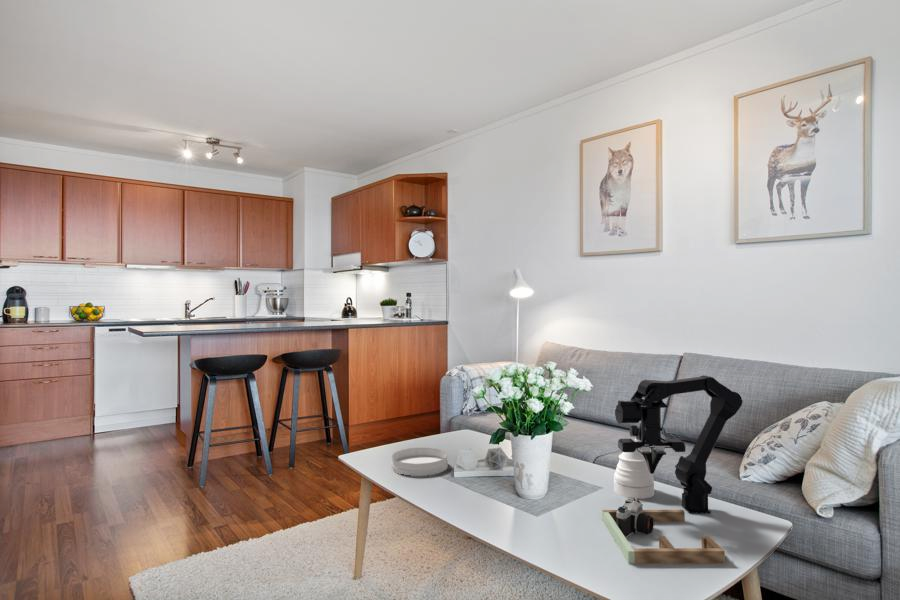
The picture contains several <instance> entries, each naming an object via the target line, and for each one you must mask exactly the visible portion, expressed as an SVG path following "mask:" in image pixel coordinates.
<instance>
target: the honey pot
mask: <svg viewBox="0 0 900 600" xmlns="http://www.w3.org/2000/svg"><path fill="white" fill-rule="evenodd" d="M634 442H641V440H636V438H634ZM618 459H619V461H618V463H617V464H616V468H615V472H614V473H613V490H614V493H616V494H617V495H619V496H621V497H625V498H627V499H628V498H629V499H634V498H637V499H640V500H641V499H642V500H643V499H648V498H651V497H653V496H655V482H654V481H655V478H654V476H653V475H654V474H651V473H650V472H649V469H648V466H647V464H646V461H645V458H644V456H643V455H642V454H641V453H640V452H638V451H637V448H636V450H635V451H634V452H622V453H620V454H619V455H618Z"/></svg>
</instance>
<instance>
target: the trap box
mask: <svg viewBox="0 0 900 600" xmlns="http://www.w3.org/2000/svg"><path fill="white" fill-rule="evenodd" d="M602 510H603V511H604V512H609V514H610V515H611V517H612V518H613V520H614V521H615V523H617V511H618V509H602ZM643 513H644V514H645V515H650V516H651V517H652V518H653V521H654V523H685V522H686V520H685V518H686V517H685V511H684V510H683V509H643ZM602 517H603V516H602V515H601V518H602ZM700 536H701V537H700V539H701V547H700V548H694V547H693V548H692V547H691V548H690V547H689V548H686V547H683V548H681V547H679V548H675V546H674V545H673V544H672V543H671V542H670V540H669V539H668V537H666V536H665V535H659V536H658V548H656V547H655V548H648V547H646V548H641V547H640V548H633V550H634V553H635V563H634V564H725V563H726V561H725V560H726V558H725V557H726V555H725V553H726V551H725V550H724V549H723V548H722V547H721V546H720V545H719V544H718V543H717V541H715V540H714V539H713V538H712V537H711V536H710V535H700Z"/></svg>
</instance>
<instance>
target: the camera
mask: <svg viewBox="0 0 900 600" xmlns="http://www.w3.org/2000/svg"><path fill="white" fill-rule="evenodd" d="M643 506H644V505H643V503H642V501H641V500H639V499H637V498H628V497H627V499H625V502H624V504H623V505H622V506H619V507H618V508H617V510H618V511H617V522H616V524H617V526H618V527H619V529H620V530H621V532H622V533H623V535H624V536H625V538H626V539H627V538H628V537H629V536H631V535H632V534H635V535H639V534H645V535H651V534H652V533H653V530H654V526H655V525H654V523H655V522H654V521H653V518H652V517H651V516H650V515H645V514H644V513H643V510H644V508H643Z"/></svg>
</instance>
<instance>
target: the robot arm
mask: <svg viewBox="0 0 900 600" xmlns="http://www.w3.org/2000/svg"><path fill="white" fill-rule="evenodd" d="M700 391H701V392H702V391H704V392H705V393H706V394H707V395H708V396H709V397H710V398H711V400H710V403H709V406H710V409H709V412H710V413H709V415H708V417H707V419H706V422H705V424H704V426H702V427H703V428H702V429H701V431H700V433H699V436H698V438H697V439H696V442H695V443H694V446H693V448H692V449H691V452H690V453H689V454H688V455H687V456H686V457H685V456H682V455H681V456H679V459H678V462H677V463H676V464H675V466H674V468H675V470H674V474H675V477H676V479H677V480H678V481H679V482H680V485H681V486H682V487H683V492H682V493H681V506H682V508H683V509H685V510H686V511H687V513H689V514H711V513H712V512H711V510H709V495H711V494H712V490H713V487H712V486H711V484H710V483H708V482H707V481H706V480H705V478H706V476H707V462H708V459H709V457H710V455H711V453H712V451H713V449H714V447H715V445H716V443H717V440H718V439H719V438H720V435H721V433H722V431H723V429H724V427H725V425H726V423H727V421H728V420H730V419H731V418H732V417H734V416H735V415H737V413H738V412H739V410H741V409H740V408H741V407H742V405H743V402H744V401H743V399H742V396H741V395H740V393H738V392H736V391H733V390H731V389H730V388H728V387H726V386H725V385H724V384H722V383H720V382H719V381H718V380H717V379H715V378H714V377H712V376H709V375H704V374H703V375H701V376H695V377H689V378H687V377H686V378H681V379H673V380H657V379H643V380H641V381H640V382H639V384H638V386H637V389H636V390H635V392H634V394H633V395H632V396H631V398H630V400H618V401H617V405H616V406H615V409H614V417H615V420H616V422H617V423H618V424H619V425H621V424H638V423H639V427H638V426H637V425H630V426H629V436H630V437H635V439H636V440H641V442H635V440H633V439H632V438H619V439H618V440H617V448H618V450H620V451H621V452H622V453H623V452H634V451H635V450H636V448H637V451H638V452H640V453H641V454H642V455H643V456H644V458H645V461H646V464H647V466H648V469H649V472H650V473H651V474H652V475H654V474H655V471H656V469H657V467H658V465H659V463H660V461H661V460H662V458H663V456H667V452H666V451H665V450H666V449H672V450H673V451H674V452H675V453H685V452H686V444H685V442H683V441H682V440H681V439H680V438H677V437H676V438H675V437H674V438H673V437H672V438H671V437H667V438H666V439H665V441H663V440H662V431H663V427H662V415H661V414H662V413H661V412H662V411H661V409H663V408H664V409H667V408H668V406H669V405H667V404H666V403H665V402H664V400H665V399H667V398H669V397H670V396H673V395H679V394H687V393H693V392H700Z"/></svg>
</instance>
